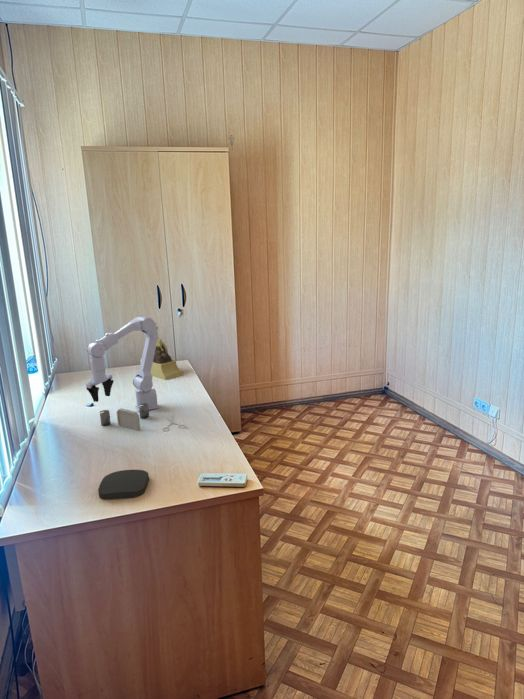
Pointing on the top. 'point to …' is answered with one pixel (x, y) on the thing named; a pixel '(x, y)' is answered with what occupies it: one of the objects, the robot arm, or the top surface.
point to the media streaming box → (123, 484)
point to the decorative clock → (163, 363)
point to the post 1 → (105, 417)
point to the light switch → (128, 419)
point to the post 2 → (144, 411)
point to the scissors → (173, 423)
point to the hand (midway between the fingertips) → (101, 398)
